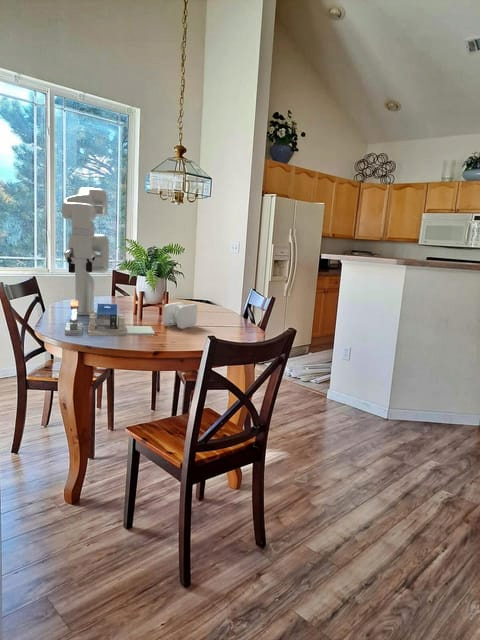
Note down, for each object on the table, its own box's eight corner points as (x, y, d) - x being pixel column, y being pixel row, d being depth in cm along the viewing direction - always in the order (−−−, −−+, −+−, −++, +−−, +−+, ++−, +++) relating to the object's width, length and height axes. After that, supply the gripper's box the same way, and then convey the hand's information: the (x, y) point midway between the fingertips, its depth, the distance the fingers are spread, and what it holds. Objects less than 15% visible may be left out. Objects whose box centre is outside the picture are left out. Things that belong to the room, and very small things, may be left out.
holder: (88, 326, 212) (88, 312, 210) (123, 327, 217) (123, 312, 215) (88, 335, 197) (88, 319, 195) (125, 335, 202) (126, 319, 201)
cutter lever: (71, 307, 208) (71, 300, 206) (78, 307, 209) (78, 300, 207) (69, 326, 197) (69, 319, 195) (77, 327, 198) (77, 319, 196)
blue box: (96, 331, 204) (96, 305, 201) (96, 329, 207) (97, 303, 205) (116, 332, 206) (117, 305, 204) (116, 330, 210) (117, 304, 207)
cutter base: (66, 326, 208) (66, 318, 207) (82, 327, 210) (82, 318, 210) (64, 334, 194) (64, 325, 193) (82, 334, 196) (82, 325, 196)
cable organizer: (178, 330, 220) (179, 307, 217) (161, 326, 225) (162, 303, 223) (196, 326, 232) (198, 304, 230) (180, 322, 237) (181, 301, 235)
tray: (125, 327, 216) (125, 326, 216) (150, 327, 220) (150, 326, 220) (127, 334, 203) (127, 332, 203) (154, 334, 207) (154, 333, 207)
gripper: (89, 233, 204) (89, 270, 207) (58, 231, 188) (58, 272, 192) (102, 234, 200) (101, 272, 203) (71, 232, 185) (70, 273, 188)
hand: (80, 272), depth 197 cm, fingers open, 9 cm apart
